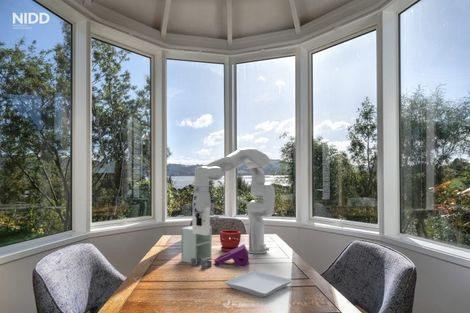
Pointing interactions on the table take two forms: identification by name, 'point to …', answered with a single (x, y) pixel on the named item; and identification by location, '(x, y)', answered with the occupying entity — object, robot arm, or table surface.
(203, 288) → the table surface
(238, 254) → the mounting bracket
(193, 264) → the hinge clips
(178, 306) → the table surface
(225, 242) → the plant pot
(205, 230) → the door
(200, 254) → the cabinet
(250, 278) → the salad plate
